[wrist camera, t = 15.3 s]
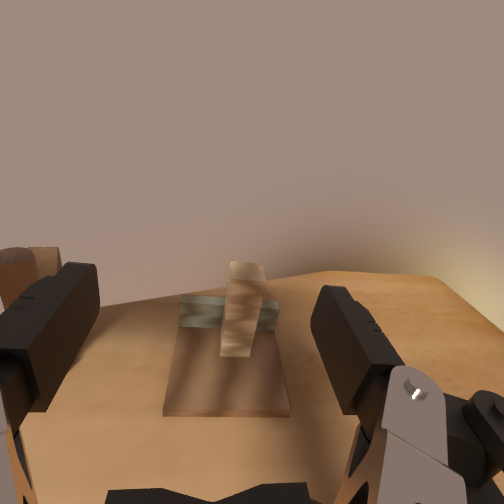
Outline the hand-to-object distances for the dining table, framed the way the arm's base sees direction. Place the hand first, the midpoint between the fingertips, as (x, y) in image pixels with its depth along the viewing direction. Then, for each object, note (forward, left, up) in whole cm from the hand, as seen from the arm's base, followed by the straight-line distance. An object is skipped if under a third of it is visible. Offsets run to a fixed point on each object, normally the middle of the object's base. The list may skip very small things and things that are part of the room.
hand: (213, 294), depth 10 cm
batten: (+5, +24, -28) cm, 37 cm away
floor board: (+4, +21, -29) cm, 36 cm away
